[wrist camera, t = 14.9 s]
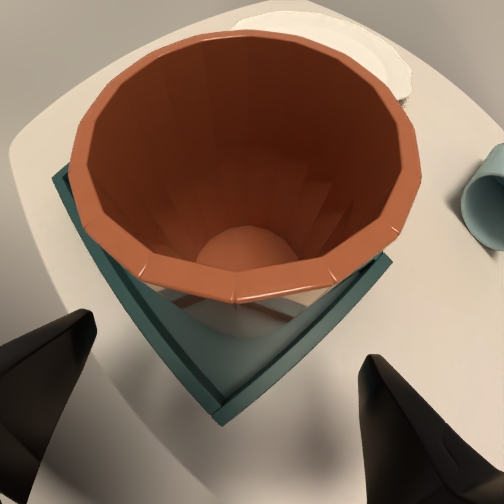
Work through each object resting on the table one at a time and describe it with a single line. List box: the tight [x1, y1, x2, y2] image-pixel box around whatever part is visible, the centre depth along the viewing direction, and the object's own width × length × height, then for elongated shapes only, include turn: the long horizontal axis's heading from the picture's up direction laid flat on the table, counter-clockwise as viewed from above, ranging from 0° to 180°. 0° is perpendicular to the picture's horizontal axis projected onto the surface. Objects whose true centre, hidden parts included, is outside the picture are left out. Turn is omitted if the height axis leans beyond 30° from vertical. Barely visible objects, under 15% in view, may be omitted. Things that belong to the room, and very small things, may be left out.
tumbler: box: [68, 29, 422, 340], centre depth 11 cm, size 7×7×13 cm
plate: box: [229, 11, 412, 101], centre depth 25 cm, size 21×21×2 cm
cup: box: [461, 143, 504, 251], centre depth 18 cm, size 7×7×10 cm
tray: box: [52, 162, 393, 427], centre depth 17 cm, size 20×13×3 cm, turn 42°
